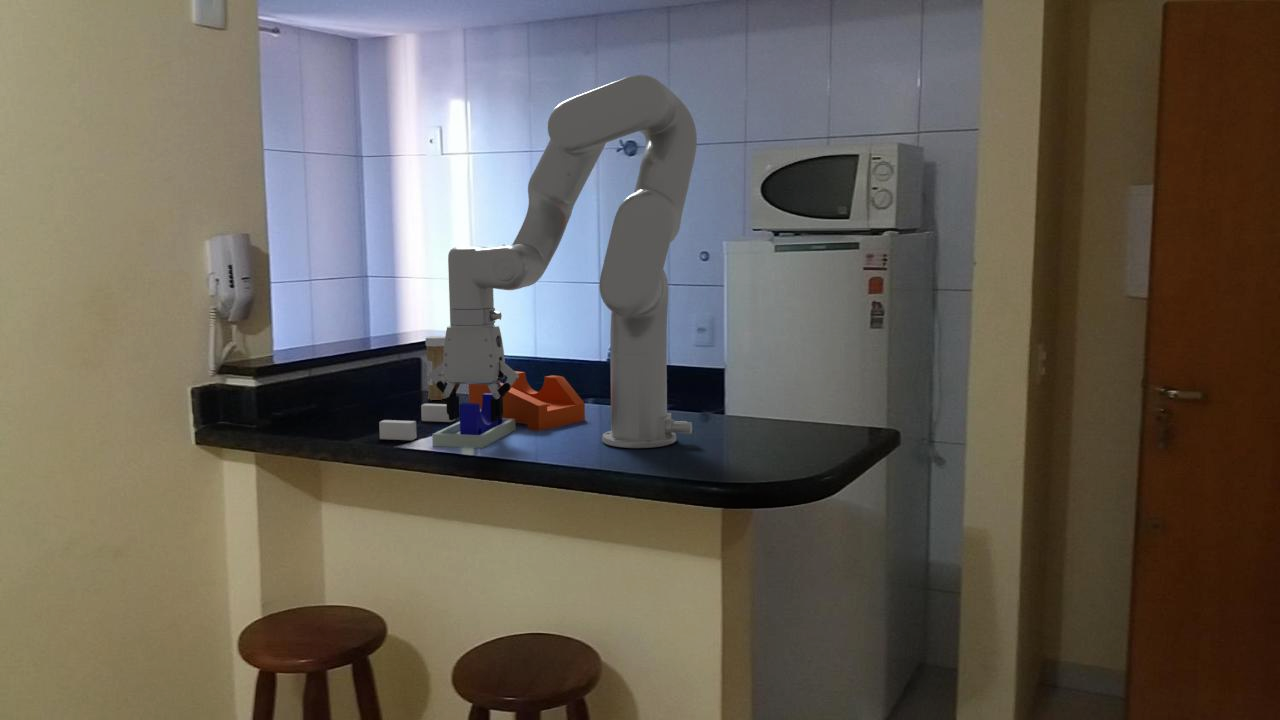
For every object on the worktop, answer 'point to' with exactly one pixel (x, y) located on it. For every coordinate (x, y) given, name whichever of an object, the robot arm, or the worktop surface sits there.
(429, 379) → the sprinkles bottle
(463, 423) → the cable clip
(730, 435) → the worktop surface
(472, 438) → the tray
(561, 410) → the tape dispenser
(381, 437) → the white rectangular blocks
